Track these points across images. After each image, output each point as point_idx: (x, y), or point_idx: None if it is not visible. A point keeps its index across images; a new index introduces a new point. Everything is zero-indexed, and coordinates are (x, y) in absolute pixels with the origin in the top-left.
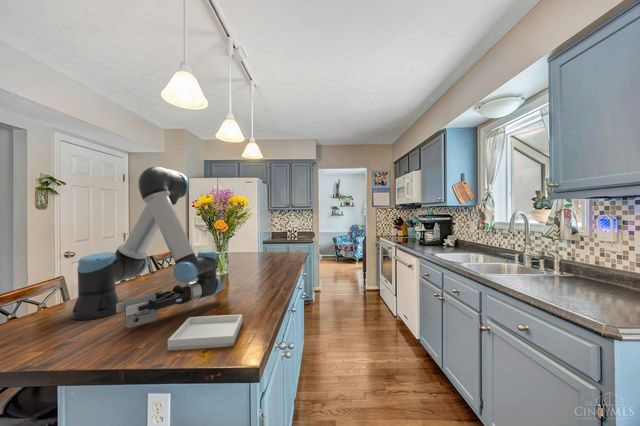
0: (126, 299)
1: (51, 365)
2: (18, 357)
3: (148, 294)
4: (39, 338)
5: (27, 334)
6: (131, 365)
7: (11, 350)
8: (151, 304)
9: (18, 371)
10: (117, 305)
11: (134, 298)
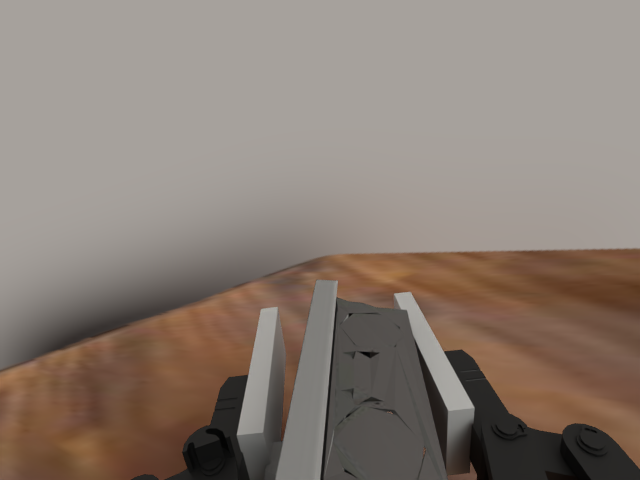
0: (326, 280)
1: (270, 286)
2: (394, 261)
3: (320, 423)
4: (535, 281)
5: (611, 269)
6: (21, 374)
7: (464, 255)
8: (186, 471)
9: (304, 262)
10: (395, 300)
11: (310, 314)
